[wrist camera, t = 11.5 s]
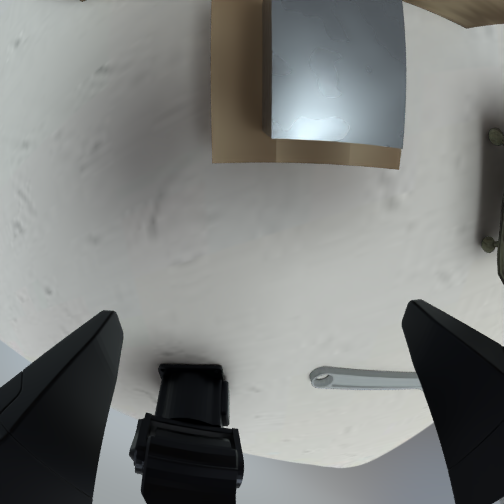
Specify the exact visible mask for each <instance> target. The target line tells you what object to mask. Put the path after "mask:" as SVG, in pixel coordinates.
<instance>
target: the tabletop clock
mask: <svg viewBox="0 0 504 504" xmlns="http://www.w3.org/2000/svg"><path fill="white" fill-rule="evenodd" d="M489 139H490V141H491V142H492V143H493V144H494V145H496V146H499V145H502V144H503V145H504V134H503V132H502V131H501V130H500V129H498V128H493V129H491V130H490V132H489ZM495 247H498V251H497V266H498V275H499V277H500V279H501V281H502V283H503V284H504V194H503V201H502V210H501V223H500V233H499V241H494V239H493V238H492V237H489V236H488V237H485V238H484V239H483V241H482V248H483V250H484V251H485V252H487V253H491V252H493V250H494V249H495Z"/></svg>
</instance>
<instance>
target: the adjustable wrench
mask: <svg viewBox="0 0 504 504" xmlns="http://www.w3.org/2000/svg"><path fill="white" fill-rule="evenodd" d="M322 375H329V376H328V377H326V378H324V379H316V378H317V377H319V376H322ZM310 379H311V384H312V386H313V387H315V388H325V389H347V390H400V389H420V390H422V391H423V389H422V387H421V384H420V381H419V379H418V376H417V373H416V372H390V371H372V370H358V369H346V368H336V367H320V368H317V369H315V370H314V371H313V372H312V373H311V374H310Z"/></svg>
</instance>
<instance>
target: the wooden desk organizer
mask: <svg viewBox="0 0 504 504" xmlns="http://www.w3.org/2000/svg"><path fill="white" fill-rule="evenodd" d="M80 1H82V2H83V1H85V0H80ZM402 1H404V2H407V3H410V4H413V5H415V6H418V7H421V8H423V9H426V10H428V11H430V12H433V13H435V14H437V15H440V16H442V17H444V18H446V19H449V20H451V21H453V22H455V23H457V24H459V25H461V26H463V27H465V28H472V27H479V26H486V25H494V24H504V0H402ZM262 3H263V0H212V5H211V132H212V163H248V162H276V163H315V164H336V165H352V166H365V167H377V168H388V169H397V170H399V165H400V156H401V149H399V148H392V147H384V146H376V145H367V144H358V143H347V142H335V141H320V140H301V139H271V138H270V137H269V136H268V135H266V134H265V133H264V132H263V131H262Z"/></svg>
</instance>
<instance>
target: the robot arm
mask: <svg viewBox="0 0 504 504" xmlns="http://www.w3.org/2000/svg"><path fill="white" fill-rule="evenodd" d="M402 329H403V332H404V335H405V338H406V342H407V345H408V348H409V352H410V355H411V359H412V362H413V365H414V368H415V371H416V373H417V376H418V379H419V381H420V384H421V387H422V389H423V392H424V395H425V398H426V400H427V403H428V406H429V409H430V412H431V415H432V418H433V421H434V424H435V427H436V430H437V433H438V437H439V440H440V443H441V447H442V450H443V454H444V457H445V461H446V465H447V468H448V473H449V477H450V481H451V486H452V490H453V494H454V499H455V504H492V503H494V502H496V501H498V500H500V503H501V504H504V346H501V345H500V344H499V343H497V342H495V341H493V340H492V339H490V338H488V337H487V336H485V335H483V334H482V333H480V332H478V331H476V330H475V329H473V328H471V327H470V326H468V325H466V324H464V323H463V322H461V321H459V320H457V319H456V318H454V317H452V316H450V315H448V314H447V313H445V312H443V311H441V310H440V309H438V308H436V307H434V306H432V305H431V304H429V303H427V302H425V301H423V300H421V299H418V300H411V301H410V302H409V303H408V305H407V308H406V311H405V314H404V316H403V319H402ZM122 344H123V330H122V327H121V324H120V321H119V318H118V315H117V313H116V312H115V311H108V310H103V311H101V312H100V313H98V314H97V315H96V316H94V317H93V318H92V319H90V320H89V321H87V322H86V323H85V324H83V325H82V326H81V327H79V328H78V329H76V330H75V331H74V332H72V333H71V334H70V335H68V336H67V337H66V338H64V339H63V340H62V341H60V342H59V343H58V344H56V345H55V346H54V347H52V348H51V349H50V350H48V351H47V352H46V353H44V354H43V355H42V356H41V357H39V358H38V359H37V360H35V361H34V362H33V363H31V364H30V365H29V366H28V367H26V368H25V369H24V370H23V372H22V371H21V372H20V373H19V374H17V375H16V376H15V377H14V378H12V379H11V380H10V381H8V382H7V383H6V384H5V385H3V386H2V387H0V504H92V501H93V499H92V497H93V492H94V485H95V478H96V473H97V467H98V461H99V455H100V450H101V445H102V440H103V436H104V431H105V426H106V422H107V417H108V413H109V409H110V405H111V401H112V397H113V393H114V389H115V385H116V380H117V374H118V368H119V361H120V355H121V349H122ZM158 370H159V373H160V376H161V379H162V381H161V386H160V391H159V396H158V401H157V406H156V412H155V415H152V414H150V413H146V414H145V418H144V419H139V420H138V424H137V430H136V433H135V437H134V439H133V442H132V445H131V448H130V452H129V456H130V457H131V458H132V460H133V461H134V466H135V473H137V474H141V475H143V476H142V485H141V493H142V495H143V497H144V499H145V501H146V503H147V504H236V488H239V487H240V485H241V483H242V479H243V473H244V460H243V454H242V448H241V443H240V437H239V432H238V429H235V428H232V429H228V428H223V426H228V425H229V387H228V382H227V381H224V378H223V369H222V367H221V366H218V365H171V364H160V365H159V368H158Z"/></svg>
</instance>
